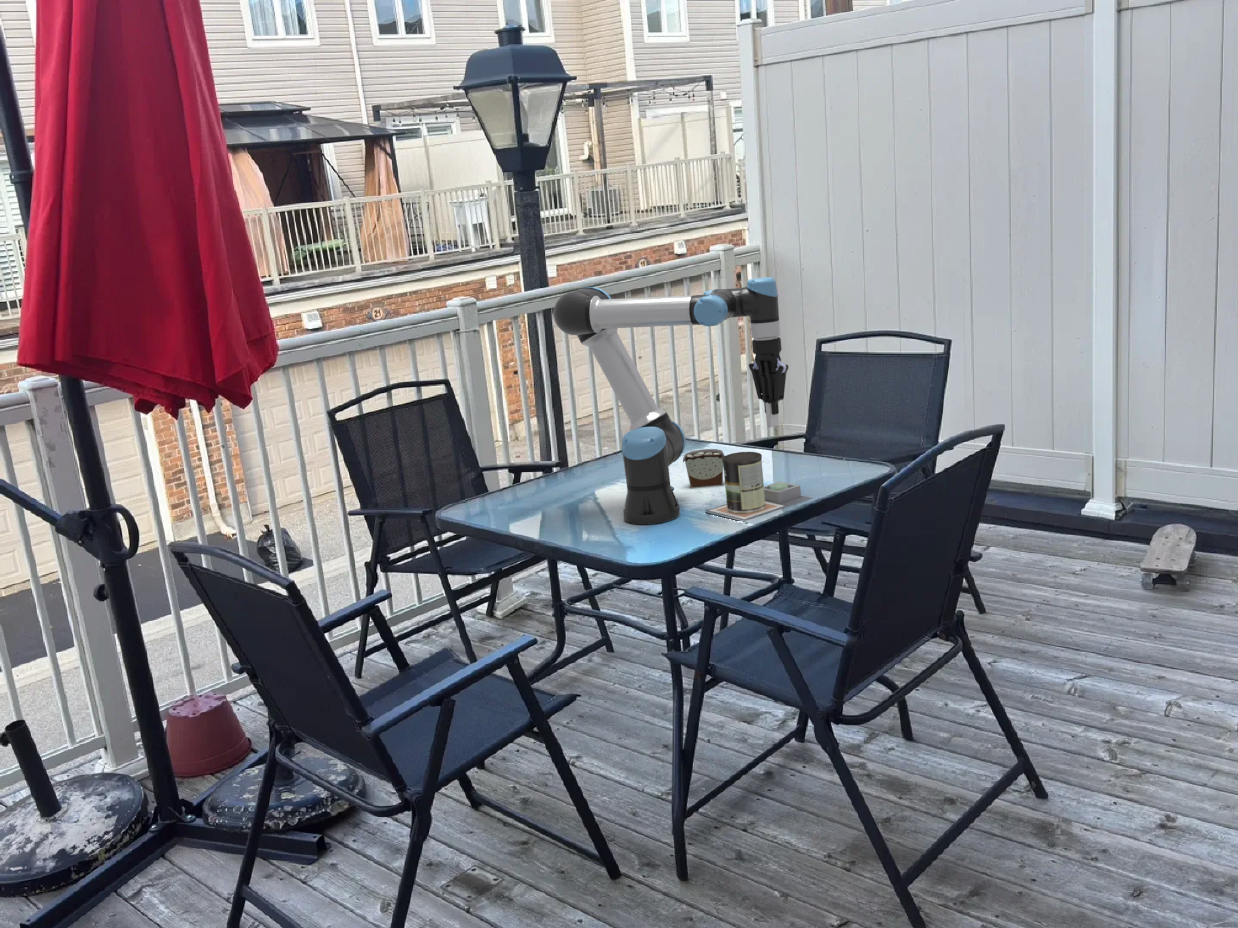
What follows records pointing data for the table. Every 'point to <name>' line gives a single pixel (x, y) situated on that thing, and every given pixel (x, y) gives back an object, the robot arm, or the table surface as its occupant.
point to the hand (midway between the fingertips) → (772, 426)
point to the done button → (778, 486)
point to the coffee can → (744, 482)
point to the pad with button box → (766, 503)
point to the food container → (704, 467)
